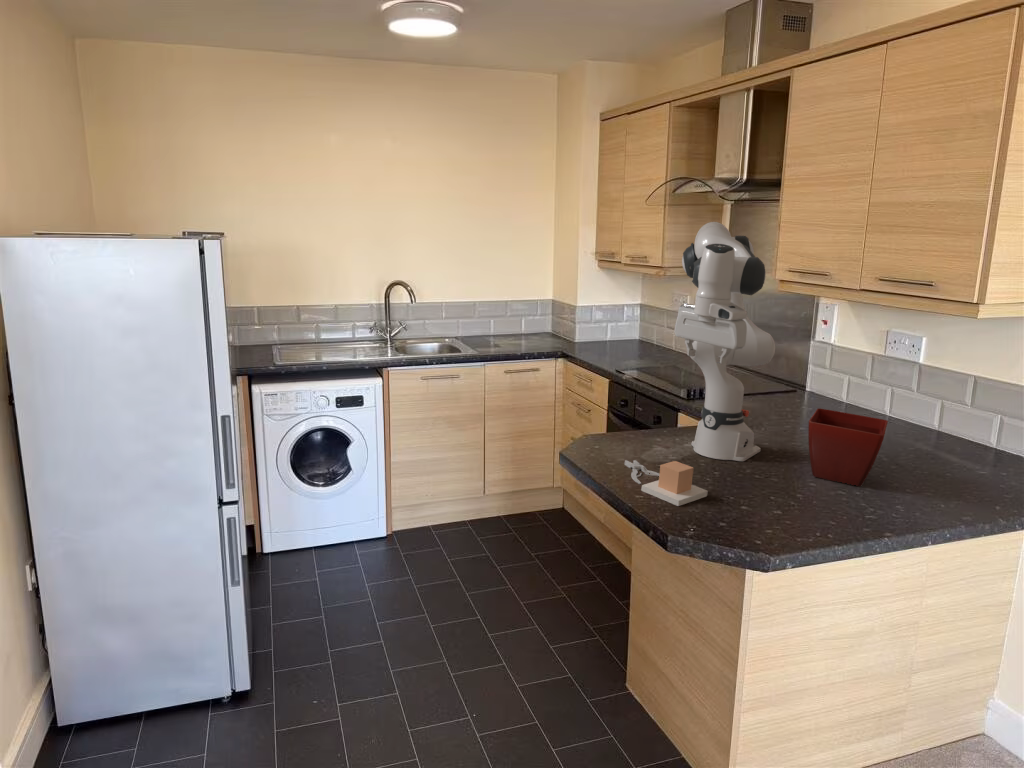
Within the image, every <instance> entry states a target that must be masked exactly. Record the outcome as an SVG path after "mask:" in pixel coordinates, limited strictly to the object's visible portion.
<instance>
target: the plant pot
mask: <svg viewBox="0 0 1024 768" xmlns="http://www.w3.org/2000/svg"><path fill="white" fill-rule="evenodd" d="M888 423H889V420H887V419H882V418H876V417H871V416H866V415H861V414H854V413H848V412H843V411H838V410H834V409H833V410H830V409H825V408H817V409H816V410H815V412H814V413H813V414H812V416H811V418H810V419H809V420H808V427H807V428H808V431H807V433H808V454H809V463H810V469H811V473H812V476H813V477H816V478H818V479H823V480H828V481H833V482H836V481H837V483H840V482H842V483H841V484H845V483H847V484H846V485H850V484H851V485H850V486H854V485H856V486H855V487H861V485H862V486H863V484H864V482H865V481H866V479H867V478H868V476H869V474H870V471H872V467H873V466H874V463H875V462H876V460H877V457H878V454H879V452H880V449H881V446H882V444H883V442H884V437H885V435H886V430H887V427H888Z"/></svg>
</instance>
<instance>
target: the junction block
mask: <svg viewBox="0 0 1024 768" xmlns="http://www.w3.org/2000/svg"><path fill="white" fill-rule="evenodd" d="M658 483H659V479H658V480H655V481H651V482H648V483H645V484H641V489H640V491H641V492H643V493H646V494H648V495H651V496H653V497H655V498H658V499H660V500H662V501H666V502H667V503H670V504H671V505H674V506H677V507H679V506H683V505H685V504H688V503H691V502H692V503H693V502H694V501H697V500H700V499H703V498H707V496H708V490H707V489H704V488H702V487H699V486H697V485H694V484H692V486H691V490H688V491H685V492H682V493H678V494H675V493H673V492H670V491H668V490H665V489H663V488H660V487H658Z"/></svg>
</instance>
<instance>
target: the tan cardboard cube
mask: <svg viewBox="0 0 1024 768" xmlns="http://www.w3.org/2000/svg"><path fill="white" fill-rule="evenodd" d="M659 466H660V467H659V477H658V480H659V483H658V487H660V488H663V489H665V490H668V491H670V492H673V493H675V494H678V493H682V492H685V491H688V490H691V486H692V485H693V476H694V470H695V469H694V467H693V466H690V465H687V464H684V463H683V462H682V463H681V462H679V461H676V460H673V461H669V462H666V463H663V464H660V465H659Z"/></svg>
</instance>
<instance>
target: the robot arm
mask: <svg viewBox="0 0 1024 768" xmlns="http://www.w3.org/2000/svg"><path fill="white" fill-rule="evenodd" d="M754 254H755V251H754V246H753V244H752V242H751V241H750V240H749V237H747V236H746V235H734V236H732V234H731V232H730V230H729V229H728V228H727V227H726V226H725V225H724V224H722V223H720V222H717V221H710V222H707V223H704V225H702V226H701V227H700V228H699V230H698V231H697V234H696V235H695V239H694V243H693V242H692V243H690V246H688V247H686V248H685V249H684V251H683V253H682V258H681V265H682V269H683V271H684V272H685V273H686V276H687V277H689V278H690V279H692V280H691V283H693V285H694V286H695V287H696V288H697V290H696V293H695V302H694V304H691V303H686V302H685V303H683V304H681V305H679V307H678V311H677V317H676V320H675V325H674V329H673V330H674V331H673V333H674V335H675V337H676V338H681V339H684V344H685V346H686V354H687V357H690V358H691V360H692V361H694V363H695V364H696V365H698V367H699V368H700V370H701V372H702V373H703V378H704V382H705V393H704V394H705V396H704V404H703V406H702V408H701V420H699V421H698V424H697V428H696V432H695V436H694V440H692V441H691V443H690V445H691V446H692V447H693V451H694V452H695V453H697V454H699V455H701V456H703V457H707V458H709V459H714V460H715V459H716V460H723V461H737V462H745V461H747V460H748V459H750V458H752V457H753V456H755V455H756V454H758V453H760V452H761V447H759V446H758V445H756V444H754V442H755V441H754V440H755V433H754V431H753V430H752V429H751V428H750V427H749V426H748V425H747V424H746V423H745V418H744V417H746V418H748V417H749V416H750V415H749V414H750V411H749V410H747V409H743V402H744V395H745V394H744V393H745V387H744V384H743V382H742V381H741V380H740V379H739V378H737V377H736V376H733V375H731V374H730V373H728V372H727V367H728V366H739V367H740V366H743V367H757V366H764V365H767V364H769V363H770V362H771V360H772V359H773V357H775V352H776V342H775V340H774V338H773V336H772V335H771V334H770V333H769V332H766V331H765V330H763V329H761V328H760V327H759V326H757V325H756V324H755V323H754V322H753V321H752V320H751V319H750V318H749V316H748V312H747V310H745V309H746V308H745V305H744V299H743V295H744V296H745V295H746V296H753V295H755V294H756V293H759V291H760V290H761V289H763V287H764V284H765V281H766V277H767V276H766V271H767V270H766V267H765V264H764V262H763V261H762V260H761V259H760V258H759V257H758V256H755V255H754Z"/></svg>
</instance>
